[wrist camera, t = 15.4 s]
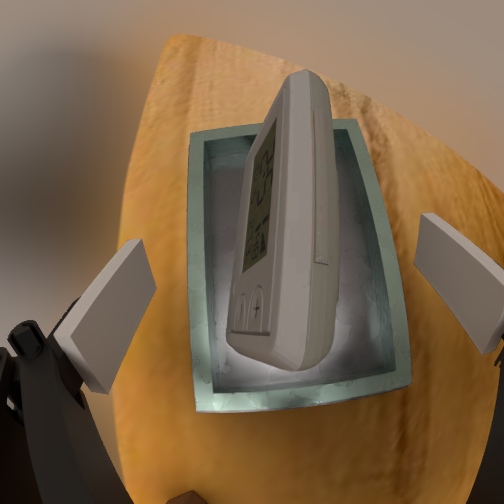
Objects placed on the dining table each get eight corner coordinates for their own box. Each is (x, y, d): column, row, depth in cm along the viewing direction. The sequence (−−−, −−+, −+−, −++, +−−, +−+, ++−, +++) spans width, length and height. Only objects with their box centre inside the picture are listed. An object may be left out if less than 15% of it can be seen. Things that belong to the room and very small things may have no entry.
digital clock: (253, 151, 24) (240, 54, 14) (354, 175, 23) (390, 83, 13) (190, 335, 20) (115, 329, 10) (309, 371, 19) (342, 403, 9)
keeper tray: (354, 136, 25) (362, 112, 22) (402, 385, 19) (422, 391, 15) (191, 150, 26) (181, 128, 23) (199, 409, 20) (186, 420, 16)
